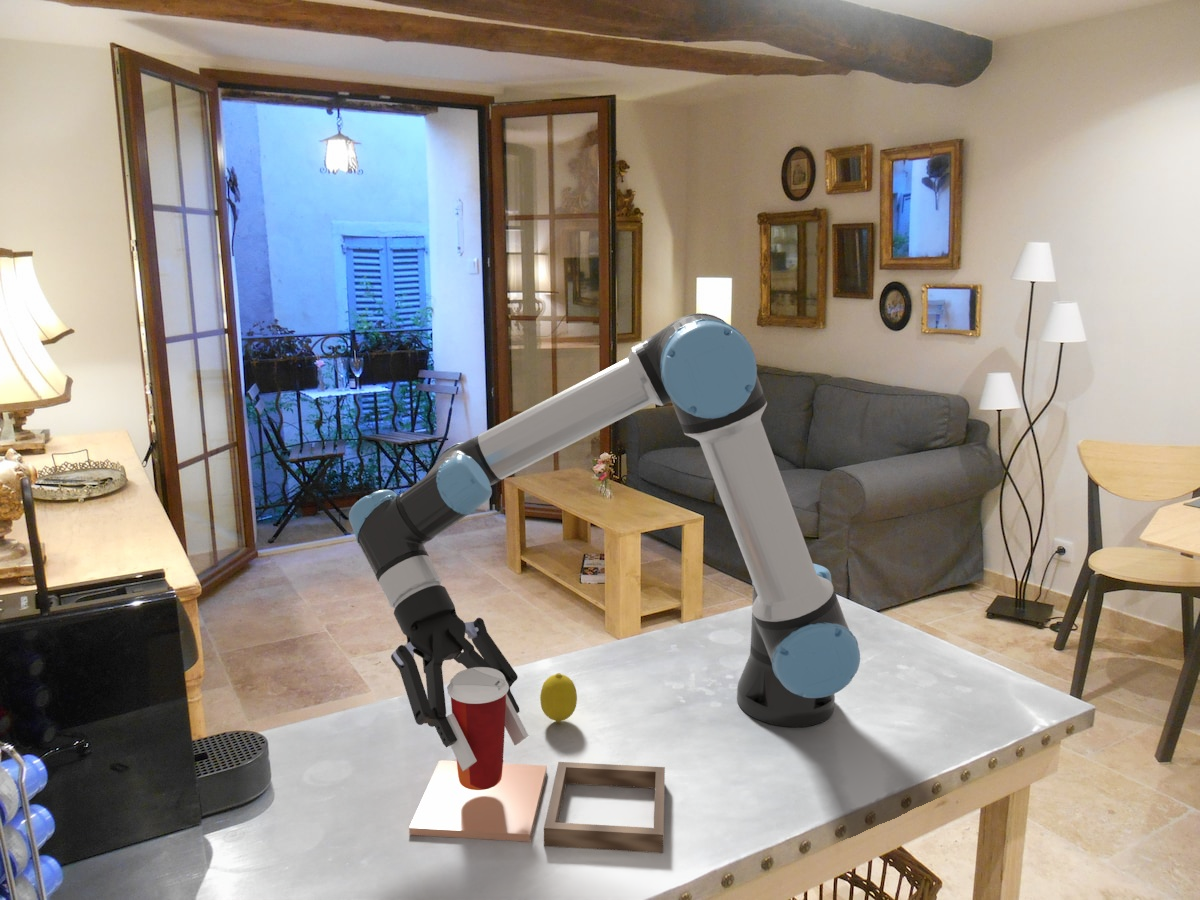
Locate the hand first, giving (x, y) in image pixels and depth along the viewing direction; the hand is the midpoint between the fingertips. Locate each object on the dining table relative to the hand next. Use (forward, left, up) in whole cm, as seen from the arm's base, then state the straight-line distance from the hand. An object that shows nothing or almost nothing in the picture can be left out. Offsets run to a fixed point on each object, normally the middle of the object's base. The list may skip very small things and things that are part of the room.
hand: (496, 752), depth 116 cm
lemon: (-5, -23, -9) cm, 25 cm away
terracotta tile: (+2, -2, -9) cm, 9 cm away
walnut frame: (-14, -1, -9) cm, 16 cm away
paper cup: (+3, -2, -5) cm, 6 cm away
